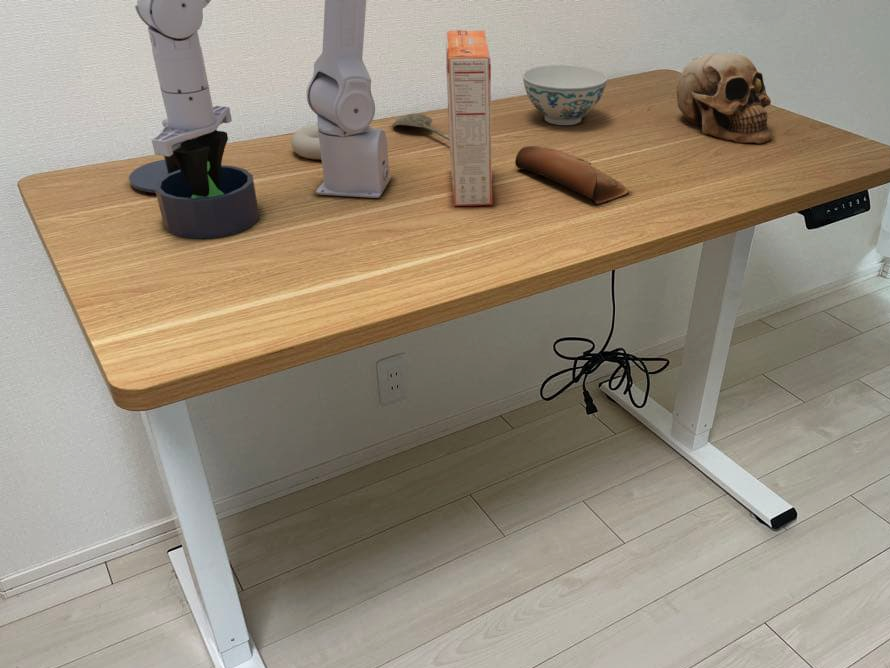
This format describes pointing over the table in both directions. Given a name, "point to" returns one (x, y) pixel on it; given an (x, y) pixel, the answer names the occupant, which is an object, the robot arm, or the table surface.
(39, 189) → the table surface
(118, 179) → the table surface
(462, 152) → the cracker box
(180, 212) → the pan
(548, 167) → the sunglasses case
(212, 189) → the game piece
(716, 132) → the beige skull model
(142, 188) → the pan lid
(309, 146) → the donut
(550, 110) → the chinaware
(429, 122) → the soupspoon
